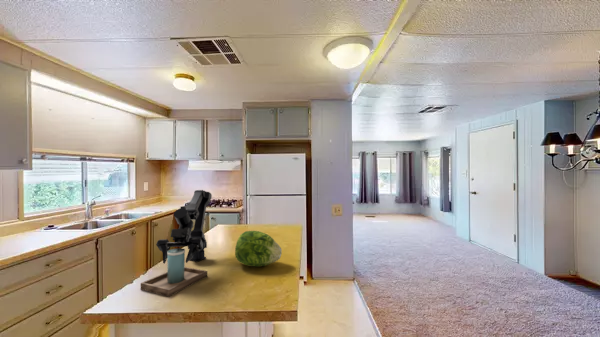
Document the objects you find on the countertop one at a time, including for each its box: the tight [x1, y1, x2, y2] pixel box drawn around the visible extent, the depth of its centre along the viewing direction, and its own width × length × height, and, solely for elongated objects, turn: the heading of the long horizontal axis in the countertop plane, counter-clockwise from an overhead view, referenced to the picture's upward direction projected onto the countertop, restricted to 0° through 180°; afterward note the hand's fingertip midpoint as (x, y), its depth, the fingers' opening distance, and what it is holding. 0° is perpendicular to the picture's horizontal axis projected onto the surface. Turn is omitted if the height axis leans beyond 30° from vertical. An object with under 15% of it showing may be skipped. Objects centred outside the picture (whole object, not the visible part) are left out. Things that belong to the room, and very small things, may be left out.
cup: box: [166, 247, 186, 283], centre depth 108 cm, size 7×7×12 cm
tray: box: [140, 266, 208, 298], centre depth 108 cm, size 16×20×2 cm
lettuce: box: [234, 230, 282, 267], centre depth 128 cm, size 17×23×17 cm
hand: (175, 262), depth 107 cm, fingers open, 9 cm apart
